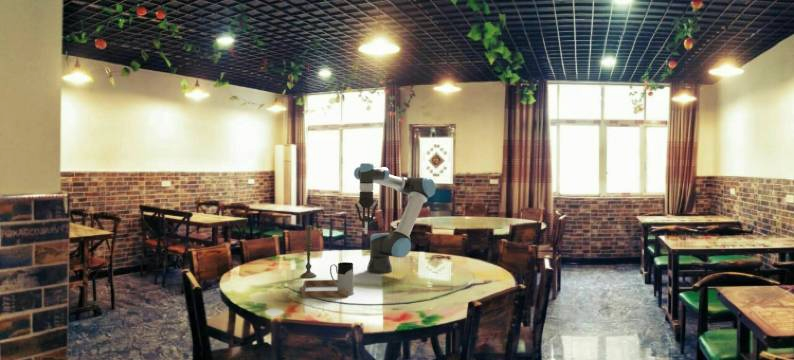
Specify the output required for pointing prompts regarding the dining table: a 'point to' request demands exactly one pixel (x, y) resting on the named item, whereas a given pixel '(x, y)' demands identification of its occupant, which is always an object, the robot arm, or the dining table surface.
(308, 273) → the candlestick holder
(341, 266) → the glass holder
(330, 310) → the dining table surface
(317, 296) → the corral
